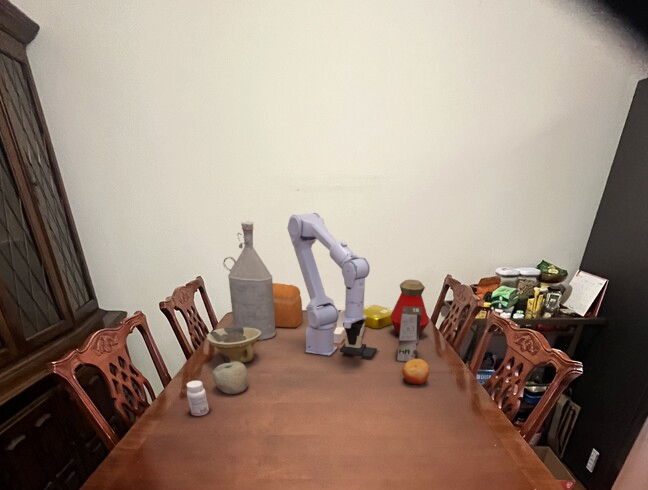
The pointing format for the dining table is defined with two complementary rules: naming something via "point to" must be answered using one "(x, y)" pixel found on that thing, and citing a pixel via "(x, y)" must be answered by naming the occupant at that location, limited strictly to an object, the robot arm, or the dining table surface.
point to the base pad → (365, 353)
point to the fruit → (415, 371)
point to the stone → (231, 377)
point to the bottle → (409, 303)
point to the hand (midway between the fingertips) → (353, 343)
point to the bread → (287, 305)
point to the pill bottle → (197, 398)
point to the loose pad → (353, 347)
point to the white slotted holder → (342, 328)
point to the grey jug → (251, 288)
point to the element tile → (377, 316)
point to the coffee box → (409, 333)
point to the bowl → (235, 342)
